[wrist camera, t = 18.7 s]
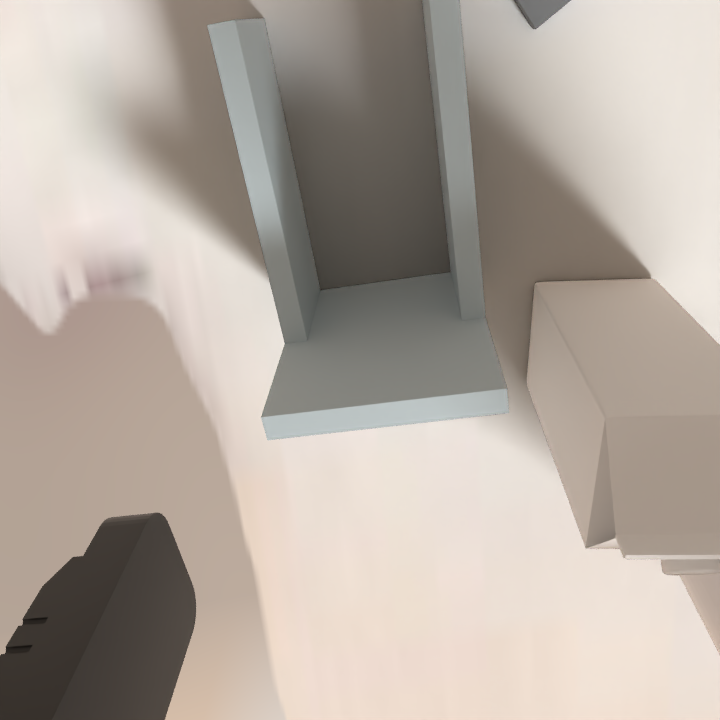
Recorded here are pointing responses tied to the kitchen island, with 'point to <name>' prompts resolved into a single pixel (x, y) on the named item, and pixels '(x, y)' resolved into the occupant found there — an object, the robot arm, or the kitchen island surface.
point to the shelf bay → (373, 300)
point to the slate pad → (539, 10)
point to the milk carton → (631, 418)
